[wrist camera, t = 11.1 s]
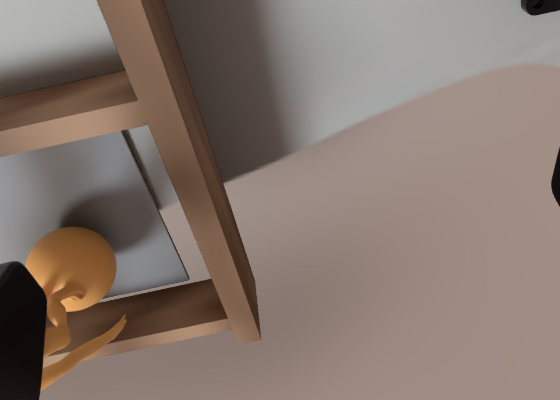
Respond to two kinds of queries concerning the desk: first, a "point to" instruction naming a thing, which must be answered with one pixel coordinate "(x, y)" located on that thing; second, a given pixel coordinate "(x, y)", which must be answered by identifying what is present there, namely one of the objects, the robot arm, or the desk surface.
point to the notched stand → (127, 191)
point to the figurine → (72, 289)
